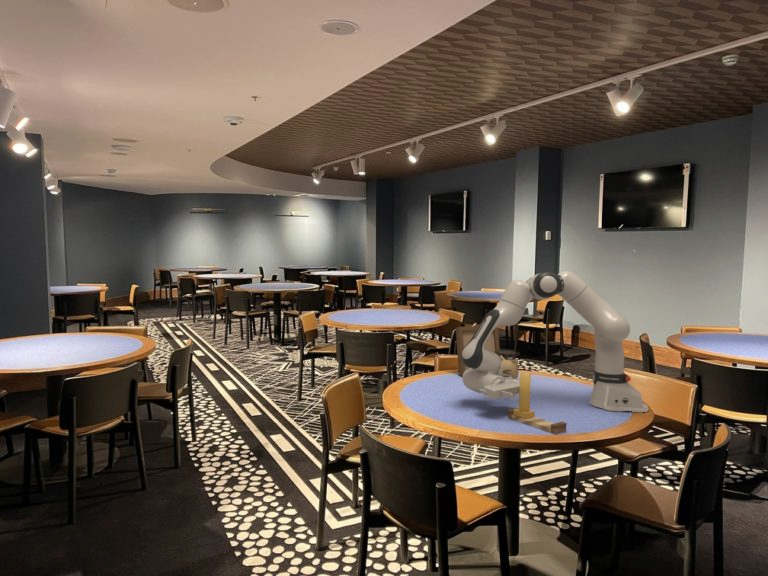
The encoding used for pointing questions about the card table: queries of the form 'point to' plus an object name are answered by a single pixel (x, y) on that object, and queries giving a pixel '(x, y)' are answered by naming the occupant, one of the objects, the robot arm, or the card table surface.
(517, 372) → the kitten
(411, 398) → the card table surface
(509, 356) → the coffee can
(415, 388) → the card table surface
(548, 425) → the rail
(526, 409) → the keeper
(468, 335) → the photo frame
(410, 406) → the card table surface
